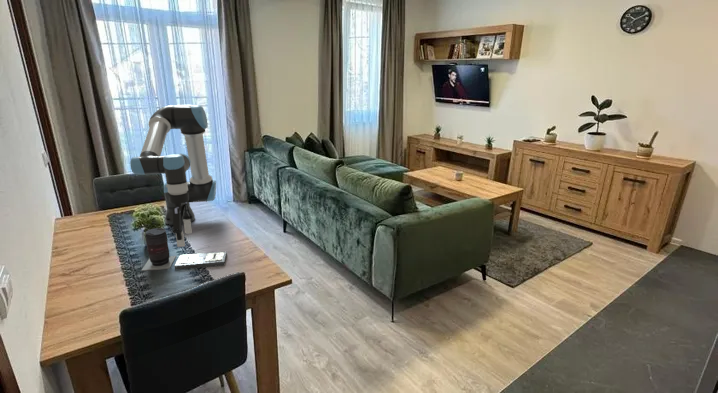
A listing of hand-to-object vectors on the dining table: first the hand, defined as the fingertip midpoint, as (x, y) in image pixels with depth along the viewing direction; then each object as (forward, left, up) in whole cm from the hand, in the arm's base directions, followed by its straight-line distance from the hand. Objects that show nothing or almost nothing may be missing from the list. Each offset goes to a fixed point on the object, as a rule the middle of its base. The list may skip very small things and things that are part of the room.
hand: (185, 239), depth 159 cm
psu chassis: (0, +5, -12) cm, 13 cm away
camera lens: (-2, -12, -11) cm, 17 cm away
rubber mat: (-2, -13, -12) cm, 17 cm away
